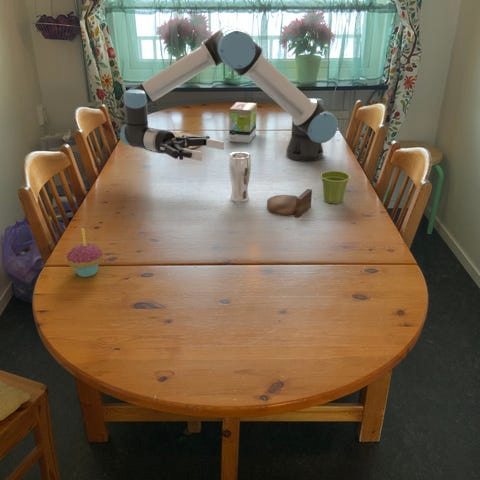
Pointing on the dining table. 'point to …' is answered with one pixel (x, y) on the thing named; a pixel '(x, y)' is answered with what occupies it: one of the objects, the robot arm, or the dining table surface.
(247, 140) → the tea box
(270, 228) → the dining table surface
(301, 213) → the walnut base
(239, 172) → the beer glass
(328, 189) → the plant pot
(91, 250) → the cupcake
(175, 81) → the robot arm
